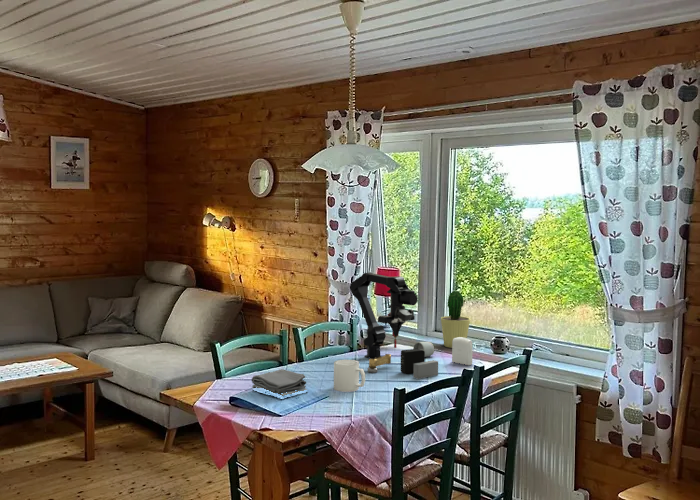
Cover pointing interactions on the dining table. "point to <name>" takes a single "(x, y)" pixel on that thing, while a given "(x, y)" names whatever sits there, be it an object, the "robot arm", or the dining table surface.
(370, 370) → the grey round base
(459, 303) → the potted cactus
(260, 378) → the towel
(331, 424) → the dining table surface
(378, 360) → the gold bone
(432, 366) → the socket block
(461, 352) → the white rounded block
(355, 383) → the mug
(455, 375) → the dining table surface
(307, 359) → the dining table surface
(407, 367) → the electronic device
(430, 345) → the ceramic mug
